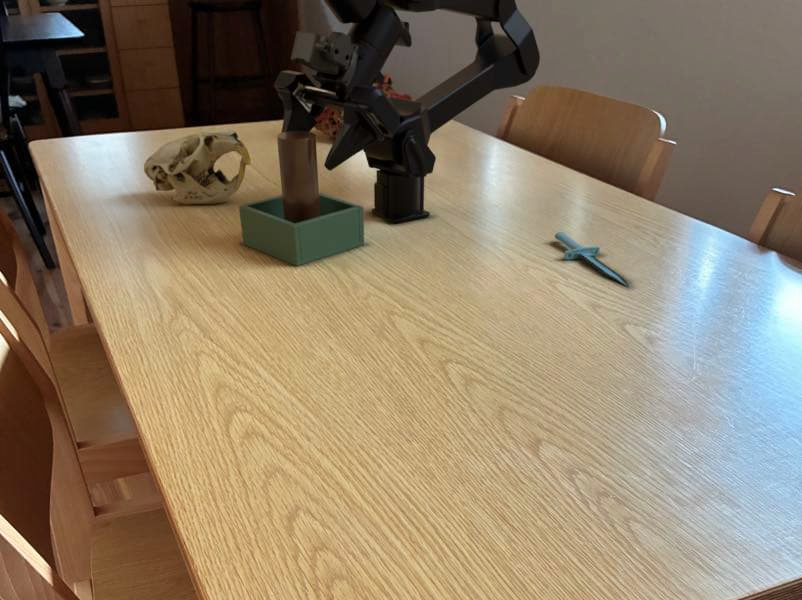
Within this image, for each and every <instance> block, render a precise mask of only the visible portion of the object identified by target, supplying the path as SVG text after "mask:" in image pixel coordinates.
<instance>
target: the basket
mask: <svg viewBox="0 0 802 600" xmlns="http://www.w3.org/2000/svg"><path fill="white" fill-rule="evenodd" d="M319 199H320V215H321V216H320V217H316V218H313V219H309V220H305V221H302V222H298V223H292V222H289V221H287V220H284V210H283V198H282V194H280V195H277V196H276V195H275V196H273V197H269V198H264V199H261V200H256V201H252V202H249V203H244V204H240V205H238V210H239V211H238V212H239V218H240V220H239V221H240V227H241V236H242V243H243V245H245V246H248V247H249V248H252V249H254V250H257V251H259V252H262V253H264V254H267V255H269V256H271V257H274V258H276V259H279V260H281V261H283V262H286V263H288V264H291V265H293V266H295V267H299V266H301V265H305V264H308V263H311V262H314V261H317V260H321V259H324V258H328V257H331V256H334V255H337V254H340V253H343V252H347V251H349V250H352V249H356V248H358V247H363V246H364V245H365V224H364V220H365V219H364V206H362V205H360V204H357V203H353V202H350V201H347V200H344V199H341V198H338V197H334V196H332V195H330V194H329V195H328V194H325V193H323V192H319Z"/></svg>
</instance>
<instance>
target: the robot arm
mask: <svg viewBox="0 0 802 600" xmlns="http://www.w3.org/2000/svg"><path fill="white" fill-rule="evenodd" d="M323 2H324V3H325V5H326V6H327V7H328V8H329V10H330V11H331V13H332V14H333V16H334V17H335V19H336V20H337V21H338V22H339V23H341V24H345V25H347V24H351V25H350V28H349V30H348V31H347V33H346V34H345V33H344V32H340V31H331V33H329V36H327V35H321V34H319V33H314V32H308V31H301V30H297V31H296V34H295V39H294V43H293V47H292V51H291V57H290V60H291V61H292V62H293V63H295V64H298V63H299V64H301V65H303V66H305V67H307V68H309V69H311V70H312V71H311V74H310V76H311V77H312V78H313V79H314V80H315V81H316V82H318V83H319V84H320V86H319V87H317V86H316V84H314V83H313V81H312V80H311V79H310V78H309V77H308V75H307V74H306V73H305V72H299V71H293V70H289V69H288V70H282V71H280V72H279V74H278V76H277V77H276V80H275V81H274V83H273V87H274V88H275V90H276V91H277V95H278V97H279V98H280V100H282V105H283V108H284V110H283V111H284V112H283V121H282V127H281V131H280V133H283V132H289V131H307V132H312V130H313V129H315V127H314V126H315V125H316V124H317V123H318V122H317V121H316V120H315V119H316V118H317V117H319V116H320V115H321V114H322V113H323V111H324V109H325V107H326V108H331V109H335V110H340V111H344V117H343V124H342V127H341V129H340V131H339V133H338V135H337V137H335V139H334V141H333V143H332V145H331V147H330V149H329V151H328V153H327V156H326V159H325V161H324V164H323V165H324V168H325V169H326V170H327V171H330V172H331V171H332V170H334V169H336V168H337V167H339V166H340V165H342V164H343V163H345V162H346V161H347V160H349V159H350V158H352V157H353V156H355V155H357V154H358V153H360V152H361V151H363V153H364V154H365V158H366V162H367V166H368V168H370V169H375V170H376V182H374V184H373V193H374V194H373V198H374V199H373V201H374V202H373V203H374V207H373V208H371V213H372V214H375V215H376V216H378V217H380V218H382V219H384V220H386V221H388V222H390V223H392V224H396V223H402V222H407V221H412V220H417V219H424V218H428V217H430V216H431V212H430V211H427V210H425V177H427V176H428V175H429V174H432V173H433V172H434V168H435V164H436V160H437V157H436V155H435V154H434V152H433V151H432V150H431V148H430V147H429V143H430V139H431V136H432V134H433V133H434V132H436V131H437V130H439V129H440V128H443V126H445V125H446V124H448V123H450V122H451V121H452V120H453V119H455V118H456V117H458V116H459V115H460V114H462V113H463V112H465V111H466V110H468V109H469V108H471V107H472V106H473V105H475V104H477V103H478V102H479V101H481V100H483V99H484V98H485V97H488V95H490V94H492V92H494V91H497V90H504V89H511V88H516V87H519V86H520V85H523V84H526V83H528V82H530V81H531V80H532V79H533V78H534V76H535V75H536V74H537V70H538V68H539V65H540V63H541V61H540V60H541V54H540V50H539V47H538V43H537V39H536V37H535V32H534V30H533V27H532V26H531V25H530V24H529V22H528V21H527V19H526V18H525V17H524V15H523V14H522V13H521V11H520V10H519V8H518V7H517V3H516V0H323ZM437 10H441V11H445V12H450V13H454V14H459V15H464V16H468V17H473V18H474V19H475V21H476V22H475V23H476V29H475V37H474V42H475V45H476V52H475V56H474V60H473V61H472V62H471V63H469V64H468V65H466V66H465V67H464V68H462V69H460V70H459V71H458V72H456V73H455V74H453V75H452V76H450V77H448V78H447V79H446V80H444V81H442V82H441V83H439V84H438V85H436V86H435V87H433V88H432V89H431V90H429V91H427V92H425V94H423V95H421V96H420V97H419V98H417V99H415V100H412V101H410V100H405V99H400V98H395V97H390V98H388V97H387V95H386V94H385V92H384V91H383V90H382V88H377V87H372V86H374V85H378V84H379V85H381V84H382V82H383V81H384V79H385V77H384V76H383V75H384V74H383V73H382V69H383V68H384V66H385V65H386V63H387V60H388V59H389V57H390V55H391V54H392V52H393V50H394V48H395V46H397V47H406V48H411V47H412V45H413V41H412V34H411V33H410V23H409V22H408V21H403V20H401V18H400V17H399V14H398V13H397V12H396V11H401V12H408V13H427V12H428V13H429V12H434V11H435V12H436V11H437ZM492 23H498V24H499V26H500V28H501V29H502V31H503V32H504V34H502V33H495V31H494V29H493V26H492Z"/></svg>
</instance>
